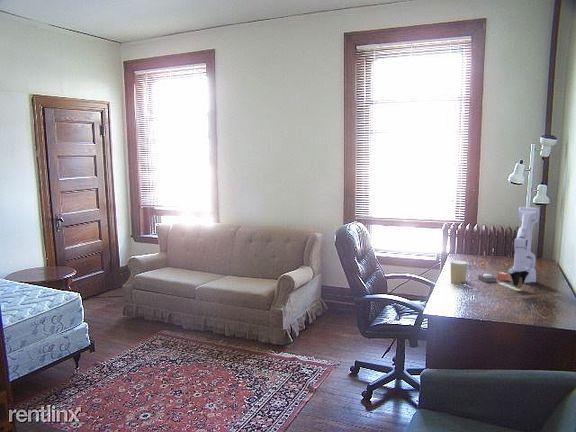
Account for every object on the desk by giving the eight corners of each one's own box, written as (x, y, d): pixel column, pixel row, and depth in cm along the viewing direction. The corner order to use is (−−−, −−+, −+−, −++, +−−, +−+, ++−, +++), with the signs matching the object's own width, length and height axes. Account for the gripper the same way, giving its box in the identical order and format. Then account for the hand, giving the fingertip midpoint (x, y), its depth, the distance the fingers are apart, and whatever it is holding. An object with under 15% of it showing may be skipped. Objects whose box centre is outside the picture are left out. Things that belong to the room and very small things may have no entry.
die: (501, 278, 262) (502, 271, 262) (508, 280, 259) (508, 273, 258) (497, 279, 260) (497, 272, 260) (503, 281, 257) (504, 274, 256)
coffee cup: (465, 280, 262) (466, 260, 260) (467, 285, 253) (468, 264, 251) (448, 279, 264) (449, 259, 263) (449, 284, 255) (451, 263, 254)
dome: (488, 278, 261) (488, 273, 260) (493, 280, 256) (494, 275, 256) (480, 279, 259) (481, 274, 259) (486, 281, 255) (486, 276, 254)
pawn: (517, 285, 242) (517, 276, 242) (523, 287, 239) (523, 277, 238) (512, 286, 241) (512, 277, 240) (518, 287, 237) (519, 278, 237)
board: (502, 279, 264) (502, 273, 264) (534, 292, 240) (535, 285, 240) (474, 281, 260) (474, 275, 259) (504, 294, 236) (504, 287, 235)
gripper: (522, 257, 244) (520, 281, 246) (504, 259, 238) (502, 284, 240) (534, 260, 238) (532, 284, 240) (515, 262, 232) (513, 288, 234)
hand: (518, 284), depth 240 cm, fingers closed on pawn, 4 cm apart
